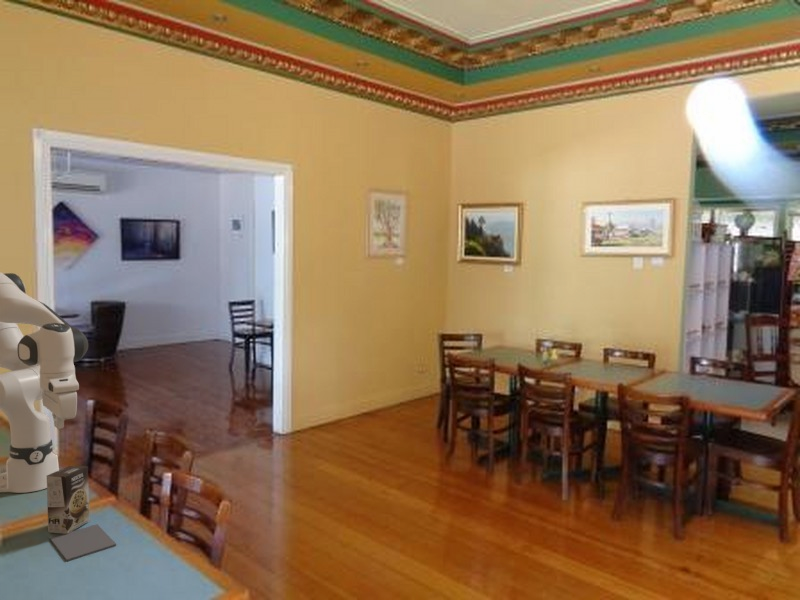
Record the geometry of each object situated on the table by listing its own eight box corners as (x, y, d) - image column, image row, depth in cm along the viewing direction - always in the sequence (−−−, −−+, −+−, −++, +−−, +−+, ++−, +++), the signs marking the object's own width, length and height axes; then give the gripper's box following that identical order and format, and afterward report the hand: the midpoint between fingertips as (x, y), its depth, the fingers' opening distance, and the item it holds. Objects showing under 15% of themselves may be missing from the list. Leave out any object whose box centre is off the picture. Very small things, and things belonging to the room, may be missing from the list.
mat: (50, 539, 162) (50, 537, 162) (97, 525, 170) (97, 524, 170) (66, 561, 151) (66, 559, 151) (116, 545, 160) (116, 543, 160)
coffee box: (67, 534, 164) (65, 476, 163) (47, 532, 165) (44, 475, 164) (91, 520, 173) (88, 465, 172) (71, 519, 174) (69, 464, 173)
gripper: (35, 375, 176) (37, 421, 177) (55, 388, 161) (57, 438, 163) (59, 372, 180) (60, 417, 182) (80, 385, 166) (82, 433, 167)
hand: (59, 427), depth 172 cm, fingers closed
